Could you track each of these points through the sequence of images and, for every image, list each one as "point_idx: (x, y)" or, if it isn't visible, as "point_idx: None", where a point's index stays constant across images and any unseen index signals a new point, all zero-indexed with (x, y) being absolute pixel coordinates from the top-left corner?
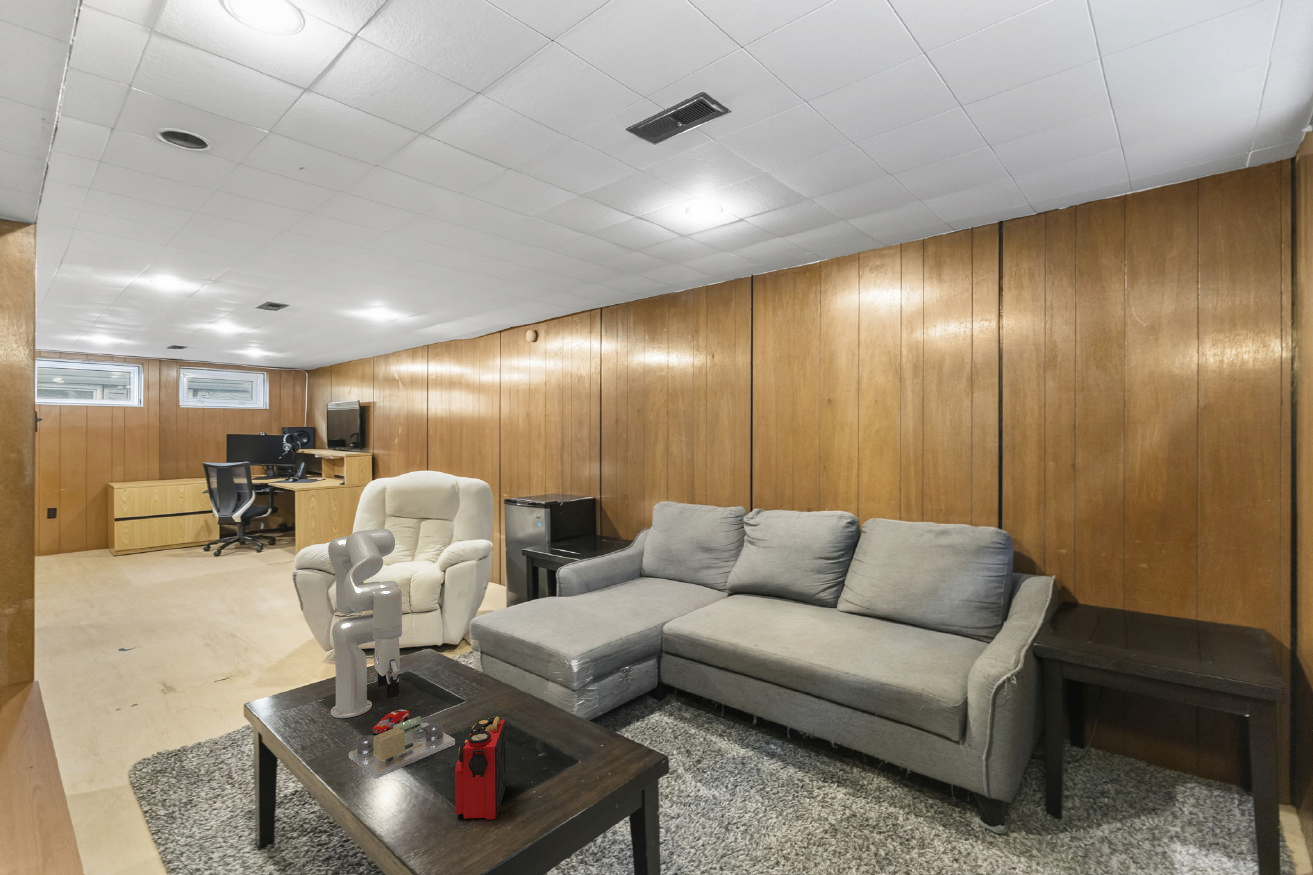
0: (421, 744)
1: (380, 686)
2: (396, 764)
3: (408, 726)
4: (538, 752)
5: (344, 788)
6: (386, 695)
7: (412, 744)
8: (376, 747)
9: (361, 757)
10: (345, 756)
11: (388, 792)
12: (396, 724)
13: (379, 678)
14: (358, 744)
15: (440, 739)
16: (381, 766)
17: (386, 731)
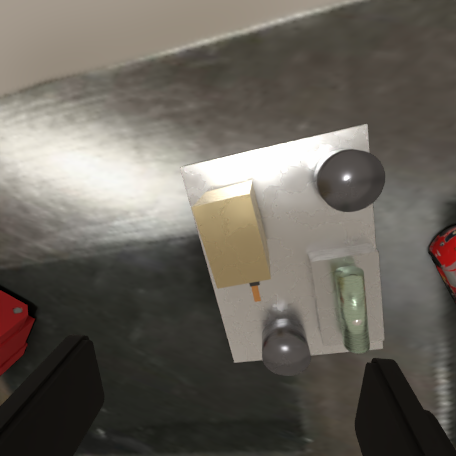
0: (258, 300)
1: (370, 368)
2: (196, 223)
3: (339, 308)
4: (109, 432)
5: (179, 81)
6: (59, 347)
7: (249, 283)
8: (230, 191)
9: (298, 152)
10: (378, 116)
11: (101, 176)
12: (452, 288)
13: (402, 447)
14: (342, 152)
15: (255, 340)
16: (204, 188)
17: (259, 241)
